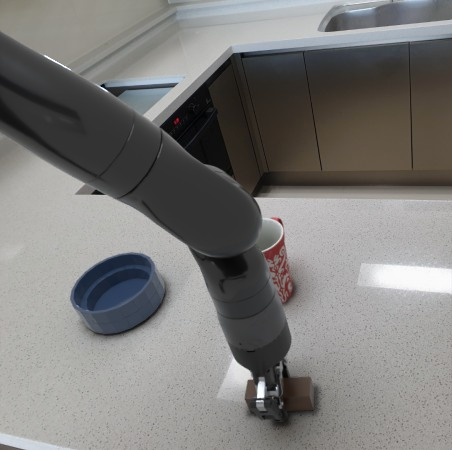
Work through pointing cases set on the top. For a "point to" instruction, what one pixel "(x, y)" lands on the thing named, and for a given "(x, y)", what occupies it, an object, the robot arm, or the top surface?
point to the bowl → (118, 293)
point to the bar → (289, 393)
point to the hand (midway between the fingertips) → (281, 399)
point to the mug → (276, 255)
